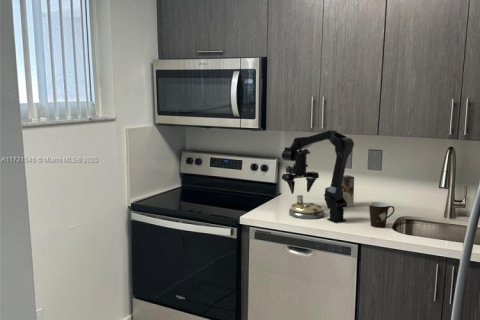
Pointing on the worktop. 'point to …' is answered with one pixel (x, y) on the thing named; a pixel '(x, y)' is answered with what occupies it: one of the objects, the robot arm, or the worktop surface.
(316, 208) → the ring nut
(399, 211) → the worktop surface
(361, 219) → the worktop surface
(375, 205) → the coffee mug
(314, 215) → the housing
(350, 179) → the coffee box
